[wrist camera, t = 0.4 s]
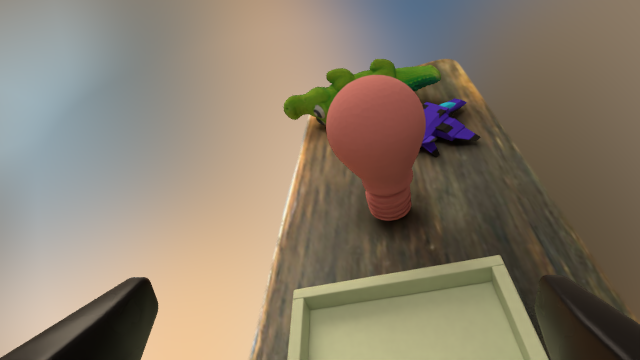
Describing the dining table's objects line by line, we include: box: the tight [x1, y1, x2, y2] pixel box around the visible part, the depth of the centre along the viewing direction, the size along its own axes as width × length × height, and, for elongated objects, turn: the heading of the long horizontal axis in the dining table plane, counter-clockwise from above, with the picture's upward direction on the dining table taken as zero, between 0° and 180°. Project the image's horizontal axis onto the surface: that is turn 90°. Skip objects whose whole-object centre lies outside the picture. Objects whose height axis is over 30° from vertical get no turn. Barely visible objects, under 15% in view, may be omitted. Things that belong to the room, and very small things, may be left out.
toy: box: [284, 59, 441, 125], centre depth 46 cm, size 9×18×5 cm
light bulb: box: [326, 75, 426, 221], centre depth 30 cm, size 7×7×12 cm
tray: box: [288, 255, 549, 360], centre depth 22 cm, size 11×14×2 cm
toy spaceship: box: [421, 99, 480, 157], centre depth 40 cm, size 10×9×2 cm
